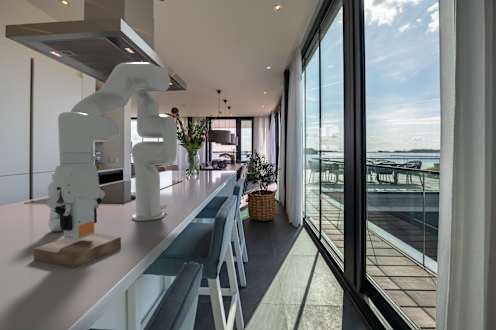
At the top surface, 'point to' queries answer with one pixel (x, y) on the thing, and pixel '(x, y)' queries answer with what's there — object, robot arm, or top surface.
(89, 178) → the robot arm
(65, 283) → the top surface
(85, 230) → the skincare box
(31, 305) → the top surface
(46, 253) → the walnut base
